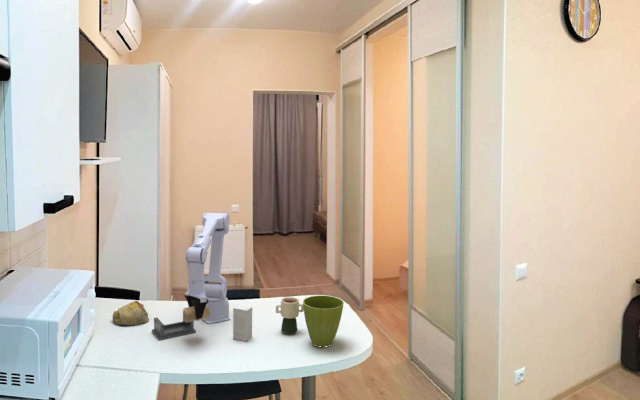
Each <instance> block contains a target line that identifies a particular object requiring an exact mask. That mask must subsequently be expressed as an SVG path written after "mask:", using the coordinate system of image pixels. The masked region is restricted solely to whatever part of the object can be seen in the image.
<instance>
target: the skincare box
mask: <svg viewBox="0 0 640 400" xmlns="http://www.w3.org/2000/svg"><path fill="white" fill-rule="evenodd" d="M232 309H233V310H232V318H233V320H232V321H233V323H232V326H233V327H232V338H233V340H237V341H242V340H243V341H242V342H248V341H249V340H251V339H252V338H253V306H247V305H241V304H238V305H236V306H235V307H233V308H232ZM250 338H251V339H250Z"/></svg>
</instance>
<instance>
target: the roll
mask: <svg viewBox="0 0 640 400" xmlns="http://www.w3.org/2000/svg"><path fill="white" fill-rule="evenodd" d="M182 309H183V310H182V318H183V317H184V320H185V322H191V321H194V322H195V321H201V320H203V319H207V318H209V308H208V305H206V307H205V309H204V313H203V317H202V318H200V319H196V316H195V309H194V306H192V307H189V306H187V307H184V308H182Z"/></svg>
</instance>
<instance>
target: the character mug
mask: <svg viewBox="0 0 640 400" xmlns="http://www.w3.org/2000/svg"><path fill="white" fill-rule="evenodd" d="M300 307H301V308H300ZM279 308H280V310H279ZM300 313H304V308H303V303H300V299H299V298H296V297H292V296H287V297H283V298H281V299H280V304H276V305H275V314H280V316H281V317H282V321H281V322H282V323H281V330H280V331H281V333H284V334H288V335H291V334H295V333H297V331H298V323H297V317H299V314H300Z"/></svg>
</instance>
